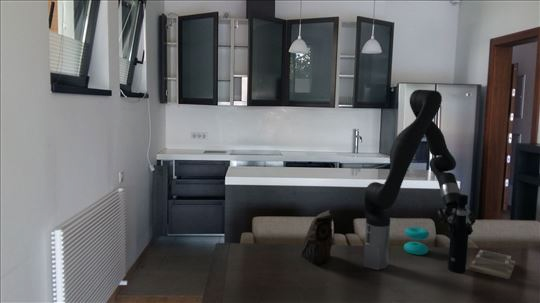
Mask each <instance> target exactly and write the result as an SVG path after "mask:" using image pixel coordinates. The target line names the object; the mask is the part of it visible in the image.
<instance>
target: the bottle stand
mask: <svg viewBox="0 0 540 303" xmlns="http://www.w3.org/2000/svg"><path fill="white" fill-rule="evenodd" d="M515 266H516V261H515V260H512V255H509V254H504V253H499V252H494V251H489V250H484V249H480V250H479V251H478V252H477V254H475V257H474V259H473V260H472V261H471V263H470V264H469V268H468V270H469V271H472V272H476V273H480V274H484V275H488V276H489V275H490V276H493V277H497V278H500V279H501V278H502V279H506V280H510V279H511V276H512V273H513V272H514V269H515Z"/></svg>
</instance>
